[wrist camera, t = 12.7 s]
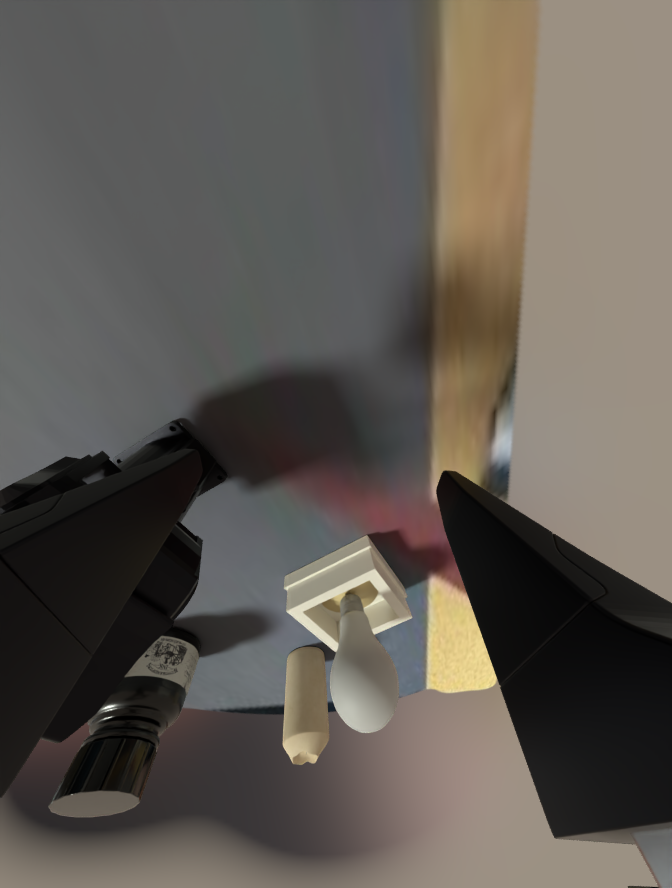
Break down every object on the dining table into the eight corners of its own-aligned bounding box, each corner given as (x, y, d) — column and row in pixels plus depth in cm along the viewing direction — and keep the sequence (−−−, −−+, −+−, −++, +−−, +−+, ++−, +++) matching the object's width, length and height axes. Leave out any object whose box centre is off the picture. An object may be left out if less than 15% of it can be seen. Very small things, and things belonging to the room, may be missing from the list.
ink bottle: (218, 638, 33) (176, 790, 22) (183, 670, 35) (129, 822, 24) (144, 615, 29) (51, 782, 19) (110, 651, 32) (9, 820, 21)
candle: (311, 641, 36) (313, 747, 27) (331, 656, 38) (339, 758, 29) (279, 656, 36) (271, 764, 27) (300, 669, 39) (299, 773, 30)
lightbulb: (313, 596, 29) (317, 737, 19) (355, 569, 28) (383, 704, 18) (344, 617, 31) (363, 752, 21) (384, 594, 30) (423, 724, 20)
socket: (331, 619, 34) (334, 653, 30) (284, 576, 29) (282, 610, 26) (403, 585, 33) (415, 617, 29) (367, 534, 28) (376, 565, 24)
